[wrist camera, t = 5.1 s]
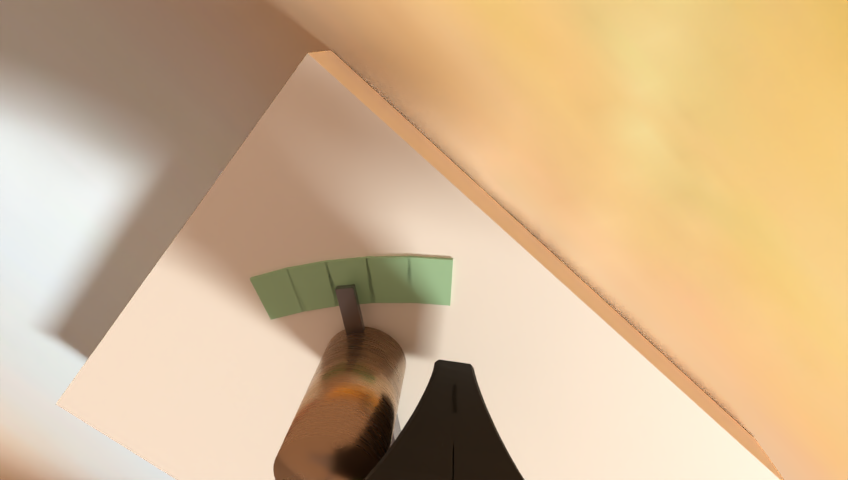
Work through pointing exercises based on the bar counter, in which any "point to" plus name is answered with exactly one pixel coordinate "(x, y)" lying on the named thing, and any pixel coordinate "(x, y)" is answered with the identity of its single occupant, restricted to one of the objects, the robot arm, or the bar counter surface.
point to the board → (383, 312)
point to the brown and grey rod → (346, 404)
